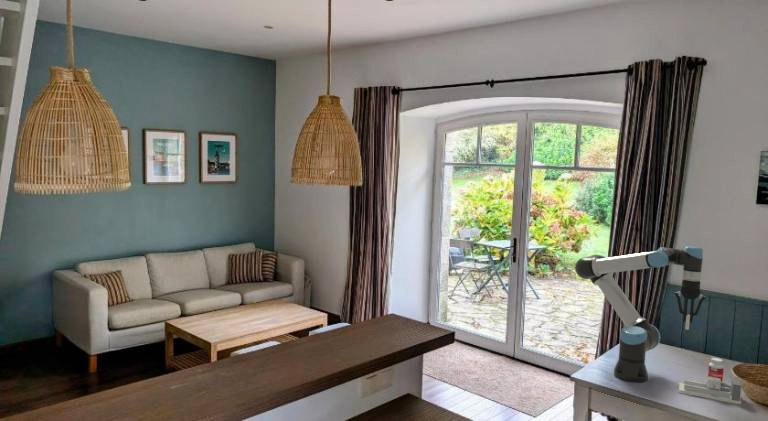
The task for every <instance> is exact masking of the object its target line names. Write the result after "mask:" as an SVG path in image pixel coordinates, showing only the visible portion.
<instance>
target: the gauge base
mask: <svg viewBox="0 0 768 421" xmlns="http://www.w3.org/2000/svg"><path fill="white" fill-rule="evenodd" d="M738 379H739V378H736V377H731V381H730V382H731V384H730V387H726V386H724V387H725V391H724V390H720V391H719V390H714V389H708V388H707V382H706V383H705V382H699V381H693V380H690V379H684V382H683V383H682V382H679V383H678V385H679V386H678V393H681V394H684V395H691V396H696V397H702V398H704V399H705V398H706V399H709V400H711V399H712V400H716V401H721V402H726V403H730V404H736V405H740V404H741V405H742V400H741V399H742V398H741V391H742V383H741V380H740V381H739V380H738Z"/></svg>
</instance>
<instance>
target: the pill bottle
mask: <svg viewBox="0 0 768 421" xmlns="http://www.w3.org/2000/svg"><path fill="white" fill-rule="evenodd" d="M710 359H711V360H710V361H711V362H709V363H708V370H707V371H708V373H707V377H708V376H709V377H714V378H720V380H721V384H723V380H724V369H725V367H724V364H723V359H721V358H717V357H711V358H710Z"/></svg>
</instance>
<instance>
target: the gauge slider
mask: <svg viewBox="0 0 768 421" xmlns="http://www.w3.org/2000/svg"><path fill="white" fill-rule="evenodd" d="M706 379H707V380H706V384H707V388H708V389H714V390H719V391H720V390H724V391H725V387H726V386H722V383H721V380H720V378H714V377H709V376H708V375H707V377H706Z"/></svg>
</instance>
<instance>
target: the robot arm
mask: <svg viewBox="0 0 768 421" xmlns="http://www.w3.org/2000/svg"><path fill="white" fill-rule="evenodd" d="M703 255H704V250H703V248H702V247H699V246H691V245H689V246H685V248H684V249H678V248H671V247H668V246H667V247H663V246H661V247H658V249H657V250H652V251H645V252H640V253H632V254H625V255H618V256H612V257H606V256H604V255H600V254H593V255H589V256H583V257H581V258H579V259H578V260H577V261H576V263H575V266H574V267H575V273H576V274H577V276H578V277H580V278H581V279H583V280H590V281H591V283H592V284H593V285H595V286H598V288H599V289H600V291H601V293H602V294H603V295H604V296H605V299H606V300H607V301H608V302H609V304H610V305H611V306H612V308H613V309H614V310H613V311H615V313H616V314H617V316H618V317H619V319H620V320H621V321H622V323H623V324H624V326H625V327H623V328H621V330H620V334H619V351H618V359H617V362H616V364H615V366H614V367H613V375H614V376H615V377H616V378H618V379H620V380H623V381H627V382H632V383H644V382H647V381H648V380H649V379H648V378H649V374H648V370H647V366H646V352H649V351H650V350H653V349H655V348H656V347H658V346H659V344H660V341H661V334H660V331H659V328H658V327H656V326H654V325H653V324H650V322H649V321H648V320H647V319H646V318H645V317H642V316H641V315H640V314H639V312H638V311H637V310H636V308H635V306H633V304H632V303H631V301H630V300H629V298H628V297H627V295H626V294H625V293H624V291H623V290H622V289H621V286H619V284H618V283H617V282H616V280H615V278H614V273H620V272H628V271H638V270H644V269H651V268H653V269H654V268H662V267H665V266H670V265H675V266H683V269H682V279H681V280H682V281H681V288H680V290H679V291H676V292H675V293H674V295H675V297H676V300H677V304H678V306H677V307H678V310H679V313H680V314H682V315H683V318H682V320H683V321H682V322H683V323H684V322H685V327H684V328H685V330H686V331H687V330H688V331H689V330H690V324H692V323H693V321H694V320H693V317H694V316H698V314H699V312H700V309H701V306H702V303H703V302H704V301H705V299H706V295H703V294H702V293H701V280H702V269H703V259H704V257H703ZM681 295H682V296H683V298H684V307H683V306H682V305H683V304H682V300H681ZM698 297H699V301H698V304H697V306H696V309H695V311H694V307H695V300H696V299H697V298H698ZM689 300H690V311H689V314H688V303H689ZM683 308H684V309H683Z"/></svg>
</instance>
